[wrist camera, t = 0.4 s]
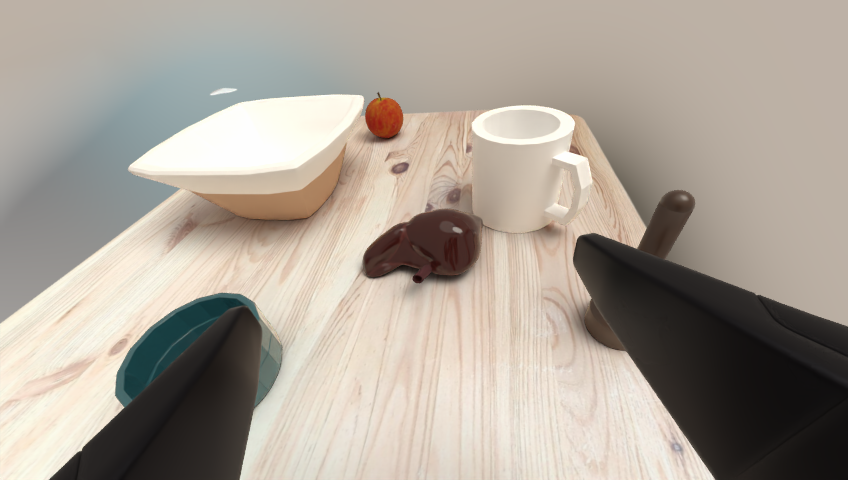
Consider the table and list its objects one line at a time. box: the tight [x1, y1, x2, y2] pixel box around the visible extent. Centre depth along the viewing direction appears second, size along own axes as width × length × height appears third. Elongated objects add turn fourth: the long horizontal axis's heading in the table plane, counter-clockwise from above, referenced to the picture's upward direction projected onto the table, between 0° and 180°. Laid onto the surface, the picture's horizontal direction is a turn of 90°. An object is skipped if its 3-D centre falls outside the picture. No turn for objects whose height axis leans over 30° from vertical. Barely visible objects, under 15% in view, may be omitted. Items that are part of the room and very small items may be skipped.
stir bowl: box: [115, 293, 282, 408], centre depth 24 cm, size 9×9×5 cm
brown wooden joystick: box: [585, 190, 695, 350], centre depth 21 cm, size 4×4×13 cm
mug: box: [472, 106, 593, 233], centre depth 35 cm, size 14×10×11 cm
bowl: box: [128, 95, 364, 220], centre depth 44 cm, size 24×25×11 cm
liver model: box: [363, 209, 483, 283], centre depth 33 cm, size 6×12×11 cm
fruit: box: [365, 93, 403, 138], centre depth 58 cm, size 7×7×8 cm
